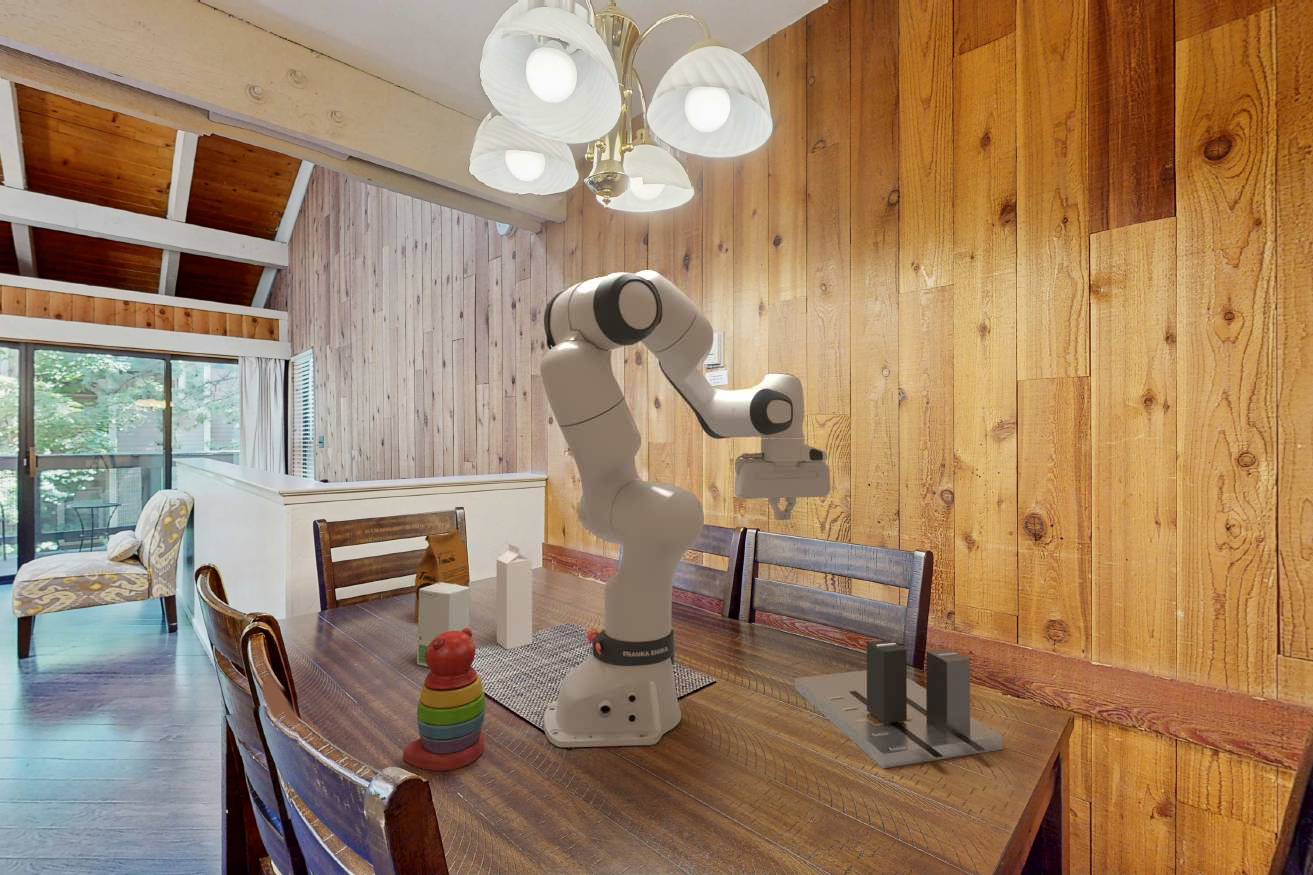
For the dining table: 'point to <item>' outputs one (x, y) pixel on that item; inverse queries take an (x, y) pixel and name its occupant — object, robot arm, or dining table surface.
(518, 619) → the milk
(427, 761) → the stacking bear
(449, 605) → the skincare box
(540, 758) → the dining table surface
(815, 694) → the console
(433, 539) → the coffee package
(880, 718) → the fader knob
